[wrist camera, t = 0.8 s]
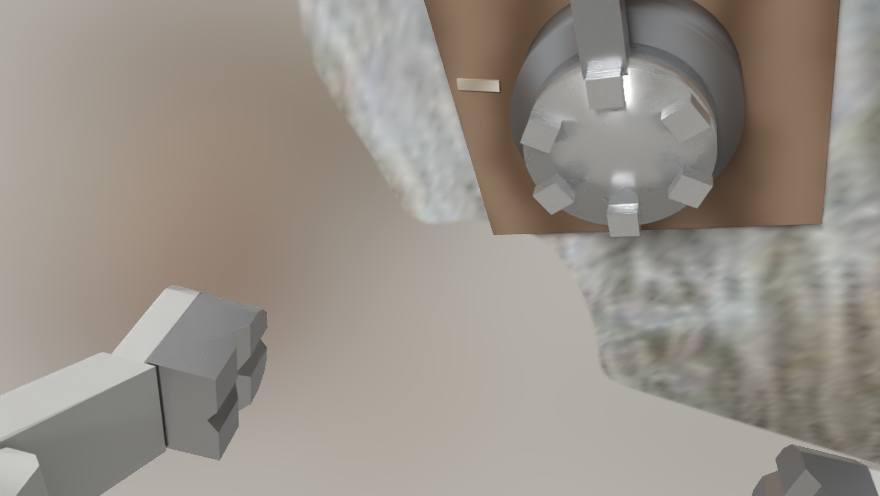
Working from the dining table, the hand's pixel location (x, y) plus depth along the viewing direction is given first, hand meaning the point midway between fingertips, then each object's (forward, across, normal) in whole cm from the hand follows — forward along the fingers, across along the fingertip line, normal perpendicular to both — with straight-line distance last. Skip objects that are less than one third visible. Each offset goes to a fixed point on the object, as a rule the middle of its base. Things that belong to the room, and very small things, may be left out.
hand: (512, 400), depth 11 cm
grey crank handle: (+32, -3, +4) cm, 33 cm away
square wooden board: (+38, -6, +9) cm, 40 cm away
